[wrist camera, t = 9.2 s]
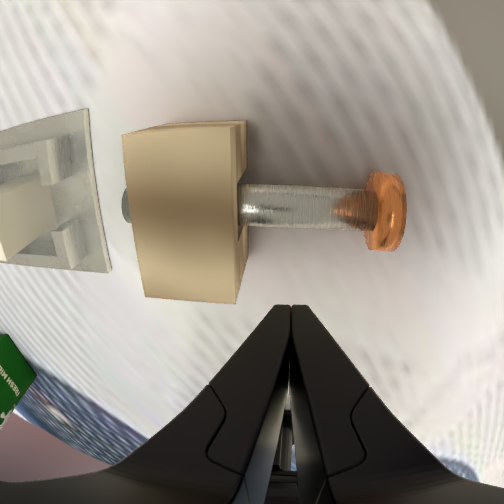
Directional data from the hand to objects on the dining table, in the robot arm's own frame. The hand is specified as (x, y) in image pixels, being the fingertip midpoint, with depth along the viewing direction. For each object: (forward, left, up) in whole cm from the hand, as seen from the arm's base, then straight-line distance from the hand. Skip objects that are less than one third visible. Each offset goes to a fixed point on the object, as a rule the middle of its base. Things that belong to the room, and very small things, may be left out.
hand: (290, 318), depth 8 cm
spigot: (0, +19, -11) cm, 22 cm away
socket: (0, +19, -12) cm, 23 cm away
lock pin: (0, +2, -12) cm, 12 cm away
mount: (0, +5, -12) cm, 13 cm away
